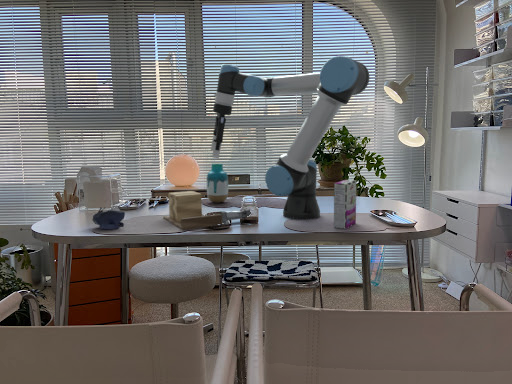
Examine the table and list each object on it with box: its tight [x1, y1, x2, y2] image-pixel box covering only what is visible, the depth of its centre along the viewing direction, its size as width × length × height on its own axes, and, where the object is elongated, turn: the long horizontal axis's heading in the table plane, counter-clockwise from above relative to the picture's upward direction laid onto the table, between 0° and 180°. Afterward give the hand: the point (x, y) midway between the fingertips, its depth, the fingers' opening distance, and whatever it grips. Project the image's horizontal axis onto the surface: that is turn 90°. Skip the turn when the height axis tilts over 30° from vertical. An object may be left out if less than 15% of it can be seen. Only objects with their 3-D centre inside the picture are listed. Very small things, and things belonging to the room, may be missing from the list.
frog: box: [91, 207, 126, 230], centre depth 146 cm, size 10×12×8 cm
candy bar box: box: [333, 179, 357, 230], centre depth 146 cm, size 11×5×16 cm, turn 148°
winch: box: [219, 208, 252, 224], centre depth 153 cm, size 15×6×5 cm, turn 119°
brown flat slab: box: [163, 213, 223, 231], centre depth 153 cm, size 23×15×4 cm, turn 29°
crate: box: [167, 190, 203, 222], centre depth 158 cm, size 10×10×10 cm
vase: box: [206, 163, 229, 204], centre depth 197 cm, size 11×11×19 cm
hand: (214, 154), depth 169 cm, fingers open, 13 cm apart
